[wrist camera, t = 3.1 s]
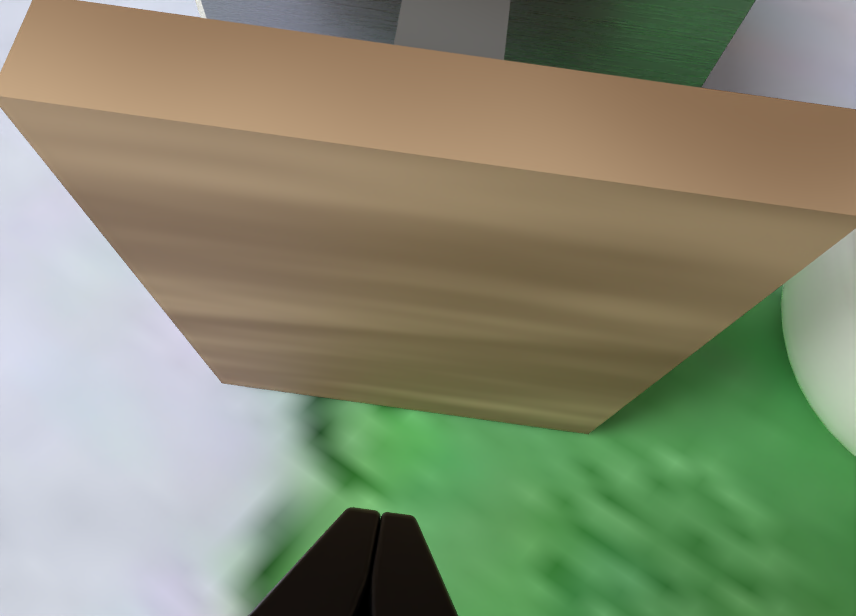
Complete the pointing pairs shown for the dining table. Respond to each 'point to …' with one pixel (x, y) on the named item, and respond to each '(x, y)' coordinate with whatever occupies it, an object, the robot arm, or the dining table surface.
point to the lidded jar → (825, 336)
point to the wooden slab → (425, 203)
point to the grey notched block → (540, 30)
